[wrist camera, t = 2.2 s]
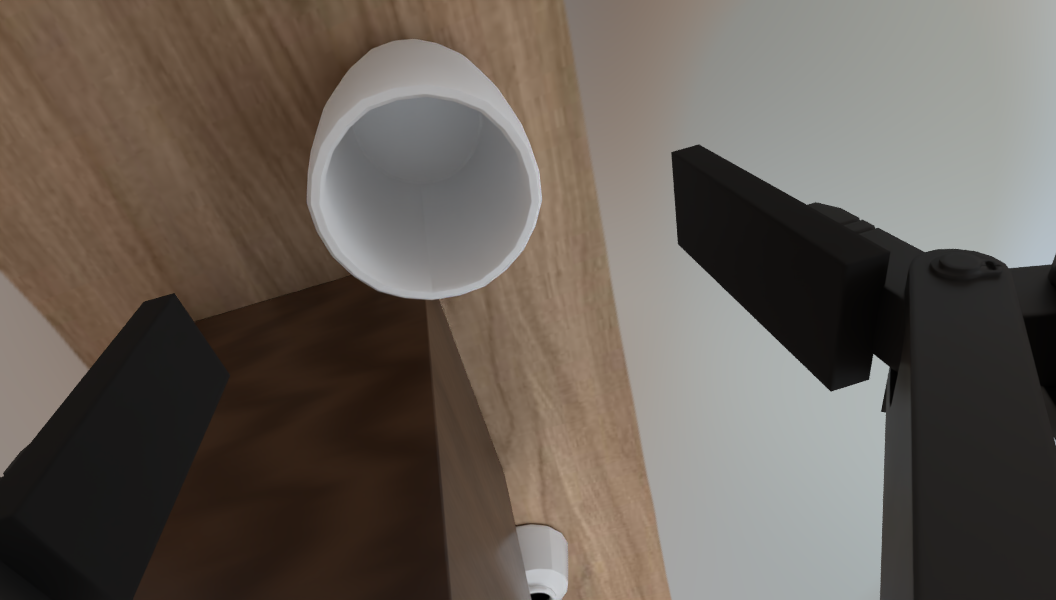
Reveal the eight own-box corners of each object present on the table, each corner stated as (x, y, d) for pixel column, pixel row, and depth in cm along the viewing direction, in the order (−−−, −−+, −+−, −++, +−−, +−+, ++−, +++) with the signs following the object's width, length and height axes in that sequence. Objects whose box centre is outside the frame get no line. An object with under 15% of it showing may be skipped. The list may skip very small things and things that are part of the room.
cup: (494, 34, 29) (562, 73, 17) (490, 186, 33) (543, 303, 21) (327, 25, 27) (272, 62, 15) (345, 187, 31) (313, 315, 20)
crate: (307, 543, 46) (223, 1063, 24) (144, 328, 33) (-343, 1000, 11) (511, 477, 47) (611, 918, 25) (427, 245, 34) (477, 715, 12)
